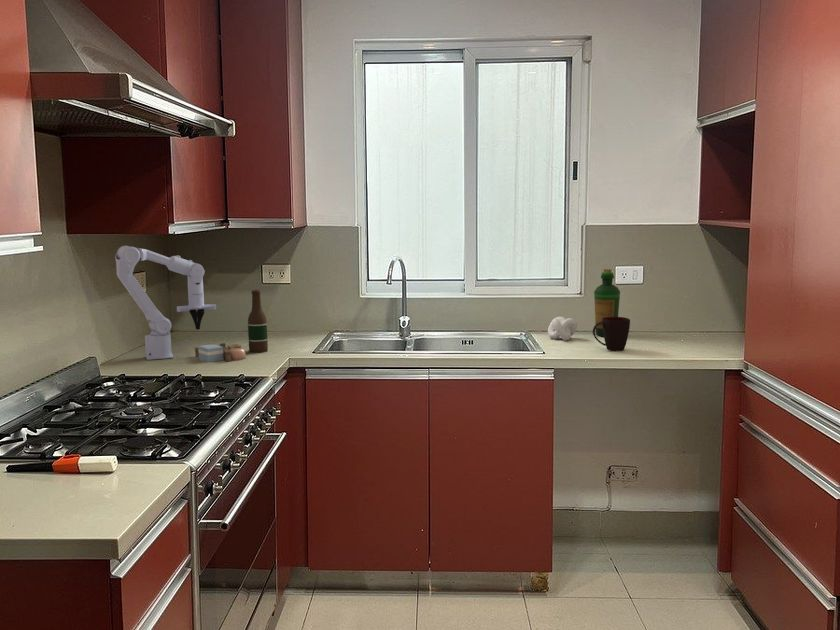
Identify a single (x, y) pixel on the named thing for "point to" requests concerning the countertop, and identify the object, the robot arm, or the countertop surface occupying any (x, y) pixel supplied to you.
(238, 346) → the maple block
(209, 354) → the carton
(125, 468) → the countertop surface
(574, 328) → the white lumpy piece
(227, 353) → the display stand
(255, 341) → the beer bottle
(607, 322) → the cup
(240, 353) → the pink rounded block
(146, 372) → the countertop surface
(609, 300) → the bottle
